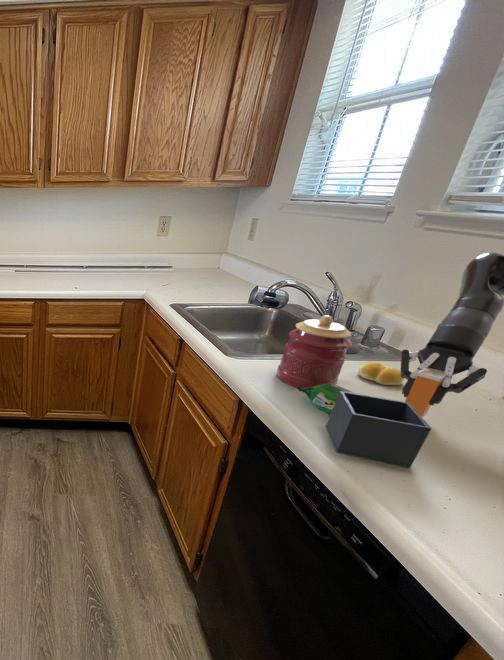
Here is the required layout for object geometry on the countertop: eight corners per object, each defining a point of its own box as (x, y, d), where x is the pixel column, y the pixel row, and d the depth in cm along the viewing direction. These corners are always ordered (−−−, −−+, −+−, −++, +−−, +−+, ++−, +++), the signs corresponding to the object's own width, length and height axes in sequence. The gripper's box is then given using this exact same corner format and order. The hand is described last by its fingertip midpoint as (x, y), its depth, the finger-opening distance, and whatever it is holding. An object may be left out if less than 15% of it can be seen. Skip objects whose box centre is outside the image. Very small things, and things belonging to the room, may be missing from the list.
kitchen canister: (298, 367, 116) (319, 305, 108) (347, 387, 105) (374, 320, 97) (264, 374, 112) (283, 310, 104) (311, 395, 101) (336, 326, 93)
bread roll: (394, 389, 104) (401, 375, 102) (352, 376, 111) (358, 362, 109) (407, 381, 108) (414, 367, 106) (366, 369, 115) (372, 356, 113)
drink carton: (427, 413, 91) (448, 372, 87) (420, 420, 88) (441, 378, 84) (405, 406, 94) (425, 366, 89) (398, 413, 91) (418, 372, 87)
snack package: (314, 394, 102) (321, 375, 99) (386, 427, 88) (396, 405, 86) (293, 399, 99) (300, 380, 97) (364, 434, 86) (374, 412, 84)
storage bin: (391, 439, 84) (409, 402, 81) (410, 468, 76) (431, 428, 72) (325, 426, 89) (339, 390, 85) (336, 452, 80) (353, 414, 77)
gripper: (503, 353, 87) (461, 421, 85) (415, 334, 97) (376, 394, 96) (512, 334, 81) (467, 405, 80) (418, 316, 92) (377, 379, 91)
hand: (418, 399), depth 88 cm, fingers closed on drink carton, 3 cm apart
